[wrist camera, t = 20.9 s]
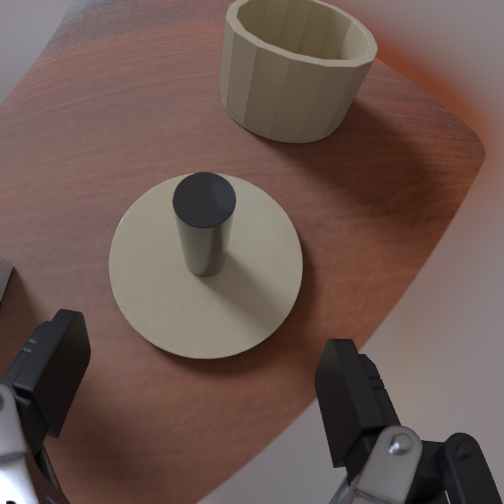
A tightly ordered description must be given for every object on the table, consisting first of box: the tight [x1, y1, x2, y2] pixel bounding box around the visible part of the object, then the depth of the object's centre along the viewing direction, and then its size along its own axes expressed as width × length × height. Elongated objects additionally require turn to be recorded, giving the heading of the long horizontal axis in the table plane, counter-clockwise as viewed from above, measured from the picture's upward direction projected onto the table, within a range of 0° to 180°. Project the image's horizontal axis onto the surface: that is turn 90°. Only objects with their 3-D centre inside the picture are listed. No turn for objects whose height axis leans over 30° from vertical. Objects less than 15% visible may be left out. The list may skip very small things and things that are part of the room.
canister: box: [219, 0, 378, 143], centre depth 23 cm, size 12×12×8 cm
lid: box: [109, 172, 303, 359], centre depth 17 cm, size 12×12×9 cm
